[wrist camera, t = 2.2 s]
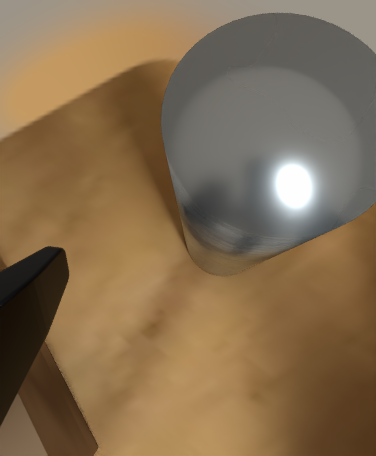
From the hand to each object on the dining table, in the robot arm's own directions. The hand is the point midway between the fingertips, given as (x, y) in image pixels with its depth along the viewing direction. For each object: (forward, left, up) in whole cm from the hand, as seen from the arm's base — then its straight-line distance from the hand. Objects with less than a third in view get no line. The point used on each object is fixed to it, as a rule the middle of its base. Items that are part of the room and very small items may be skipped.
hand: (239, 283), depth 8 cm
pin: (+3, -1, -10) cm, 10 cm away
